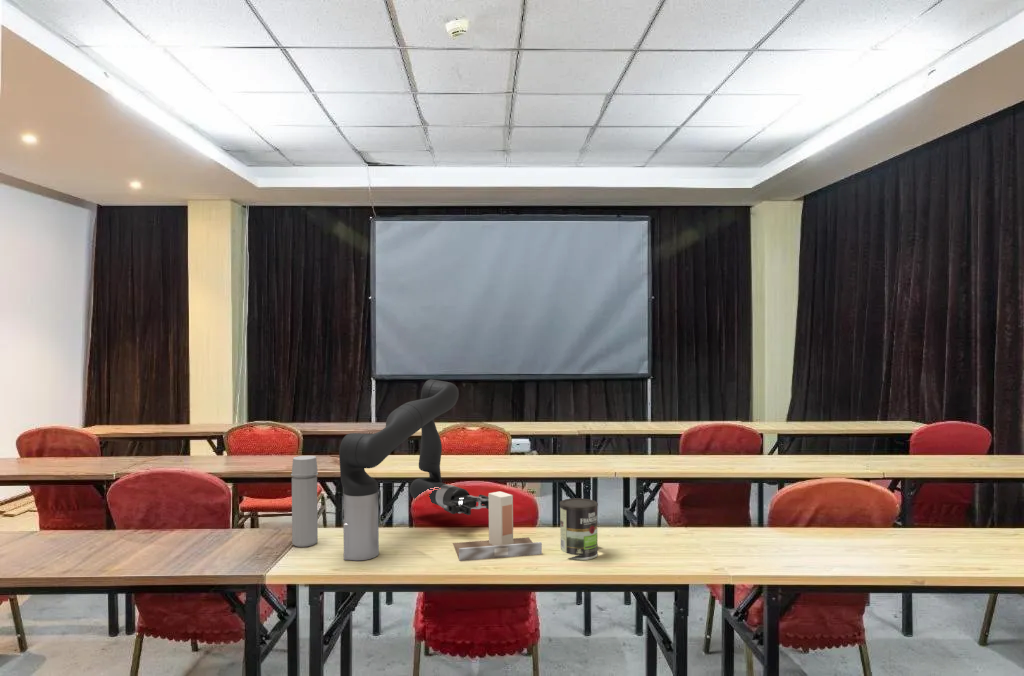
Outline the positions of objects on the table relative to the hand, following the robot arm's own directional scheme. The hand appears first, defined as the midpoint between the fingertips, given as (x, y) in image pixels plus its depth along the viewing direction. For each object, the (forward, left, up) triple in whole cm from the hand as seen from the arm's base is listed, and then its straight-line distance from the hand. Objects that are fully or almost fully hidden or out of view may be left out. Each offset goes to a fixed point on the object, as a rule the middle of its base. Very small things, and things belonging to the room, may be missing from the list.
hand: (482, 509), depth 189 cm
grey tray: (+2, -11, -10) cm, 15 cm away
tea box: (+4, -8, -8) cm, 12 cm away
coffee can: (+24, -17, -10) cm, 31 cm away
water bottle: (-50, +11, -10) cm, 52 cm away
